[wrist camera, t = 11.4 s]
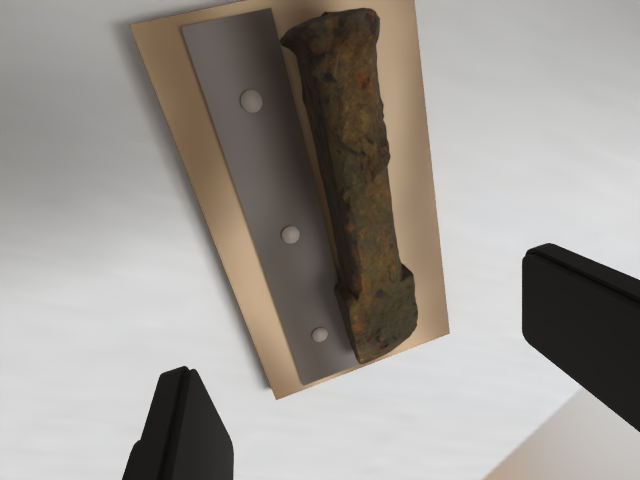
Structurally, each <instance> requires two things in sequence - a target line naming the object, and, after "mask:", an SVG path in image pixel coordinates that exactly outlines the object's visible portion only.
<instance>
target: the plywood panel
mask: <svg viewBox="0 0 640 480" xmlns="http://www.w3.org/2000/svg"><path fill="white" fill-rule="evenodd" d="M363 7H364V8H370V9H373V10H374V11H376V13H377V15H378V16H379V18H380V32H379V38H378V41H377V44H376V49H377V70H378V81H379V85H380V88H379V89H380V96H381V99H382V101H383V104H384V108H383V113H384V119H383V120H384V122H385V124H386V130H387V140H388V142H389V152H390V156H391V158H390V161H389V164H388V175H389V183H390V191H391V198H392V211H393V217H394V227H395V233H396V238H397V246H398V250H399V257H400V260H401V263H403V264H404V265H405V266H406V267H407V268H408V269H409V270H410V271H411V272H412V273H413V274H414V281H415V297H416V303H417V306H418V308H417V309H418V320H417V327H416V329H415V331H413V333H412V335H411V336H410V337H409V338H408V339H406V340H405V341H404V342H403V343H401V344H400V345H399V346H398V347H396V348H395V349H394V350H392V351H391V352H389V353H387V354H385V355H384V356H382V357H379V358H377V359H375V360H373V361H370V362H368V363H365V364H359V363H358V361H357V360H356V357H355V354H354V351H353V349H352V346H351V344H350V340H349V338H348V336H347V332H346V330H345V325H344V322H343V318H342V314H341V312H340V309H339V305H338V301H337V298H336V296H335V294H334V286H335V285H336V284H337V283H339V278H340V265H339V261H338V254H337V248H336V244H335V239H334V234H333V229H332V223H331V219H330V213H329V208H328V204H327V200H326V195H325V191H324V186H323V182H322V178H321V174H320V170H319V165H318V159H317V154H316V149H315V144H314V140H313V136H312V132H311V128H310V124H309V120H308V116H307V111H306V108H305V105H304V103H303V100H302V84H301V77H300V72H299V68H298V63H297V58H296V56H295V55H294V53H293V52H292V51H291V50H290V49H288V48H286V47H283V46H281V43H280V39H281V37H283V36H284V34H285V33H286V32H287V31H288V30H289V29H291V28H292V27H294V26H296V25H298V24H300V23H303V22H305V21H307V20H309V19H312V18H315V17H319V16H321V15H322V14H323V13H324V12H325V11H326V12H337V11H344V10H349V9H357V8H363ZM129 26H130V28H131V31H132V34H133V36H134V39H135V41H136V44H137V46H138V49H139V51H140V54H141V57H142V59H143V62H144V64H145V67H146V69H147V72H148V74H149V77H150V80H151V82H152V85H153V87H154V90H155V92H156V95H157V97H158V100H159V102H160V105H161V108H162V110H163V113H164V115H165V118H166V120H167V123H168V125H169V128H170V131H171V133H172V136H173V138H174V141H175V143H176V146H177V148H178V151H179V153H180V156H181V159H182V161H183V164H184V166H185V169H186V171H187V174H188V176H189V179H190V182H191V184H192V187H193V189H194V192H195V194H196V197H197V199H198V202H199V205H200V207H201V210H202V212H203V215H204V217H205V220H206V222H207V225H208V227H209V230H210V233H211V235H212V238H213V240H214V243H215V245H216V248H217V250H218V253H219V256H220V258H221V261H222V263H223V266H224V268H225V271H226V273H227V276H228V279H229V281H230V284H231V286H232V289H233V291H234V294H235V296H236V299H237V301H238V304H239V307H240V309H241V312H242V314H243V317H244V319H245V322H246V324H247V327H248V330H249V332H250V335H251V337H252V340H253V342H254V345H255V347H256V350H257V353H258V355H259V358H260V360H261V363H262V365H263V368H264V370H265V373H266V375H267V378H268V381H269V383H270V386H271V388H272V391H273V393H274V396H275V398H276V400H278V399H281V398H283V397H286V396H288V395H291V394H294V393H296V392H299V391H301V390H304V389H307V388H309V387H312V386H314V385H317V384H320V383H322V382H325V381H327V380H330V379H333V378H335V377H338V376H340V375H343V374H346V373H348V372H351V371H353V370H356V369H359V368H361V367H364V366H366V365H369V364H372V363H374V362H377V361H379V360H382V359H385V358H387V357H390V356H392V355H395V354H398V353H400V352H403V351H405V350H408V349H410V348H413V347H416V346H418V345H421V344H423V343H426V342H429V341H431V340H434V339H436V338H439V337H442V336H444V335H447V334H449V333H450V332H449V323H448V313H447V304H446V295H445V285H444V276H443V266H442V257H441V248H440V238H439V229H438V219H437V210H436V201H435V191H434V182H433V173H432V163H431V154H430V144H429V135H428V126H427V116H426V107H425V97H424V88H423V79H422V69H421V60H420V50H419V41H418V32H417V22H416V13H415V3H414V0H245V1H240V2H235V3H231V4H226V5H221V6H216V7H212V8H207V9H202V10H197V11H192V12H188V13H183V14H178V15H173V16H169V17H164V18H159V19H154V20H150V21H145V22H140V23H135V24H130V25H129Z"/></svg>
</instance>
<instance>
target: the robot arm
mask: <svg viewBox="0 0 640 480" xmlns="http://www.w3.org/2000/svg"><path fill="white" fill-rule="evenodd" d="M522 333H523V336H524V338H525V340H526V341H527V342H528V343H529V344H530V345H531V346H532V347H534V348H535V349H536V350H537V351H539V352H540V353H541V354H543V355H544V356H545V357H546V358H548V359H549V360H550V361H551V362H553V363H554V364H555V365H556V366H558V367H559V368H560V369H561V370H563V371H564V372H565V373H566V374H568V375H569V376H570V377H571V378H573V379H574V380H575V381H576V382H578V383H579V384H580V385H581V386H583V387H584V388H585V389H586V390H588V391H589V392H590V393H592V394H593V395H594V396H595V397H597V398H598V399H599V400H600V401H601V402H603V403H604V404H605V405H607V406H608V407H609V408H610V409H611V410H613V411H614V412H615V413H617V414H618V415H619V416H620V417H621V418H623V419H624V420H625V421H626V422H628V423H629V424H630V425H631V426H633V427H634V428H635V429H637V430H638V431H639V432H640V280H638V279H636V278H634V277H631V276H629V275H626V274H624V273H622V272H619V271H617V270H614V269H612V268H610V267H607V266H605V265H603V264H600V263H598V262H595V261H593V260H591V259H588V258H586V257H583V256H581V255H579V254H576V253H574V252H571V251H569V250H567V249H564V248H562V247H560V246H557V245H555V244H551V243H547V244H543V245H540V246H537V247H535V248H532V249H529V250H528V251H527V252H526V255H525V257H524V258H523V260H522ZM233 464H234V452H233V445H232V441H231V439H230V437H229V434H228V432H227V430H226V428H225V426H224V424H223V422H222V420H221V418H220V416H219V414H218V412H217V410H216V408H215V406H214V404H213V402H212V400H211V398H210V396H209V394H208V392H207V390H206V388H205V386H204V384H203V382H202V380H201V378H200V376H199V374H198V372H197V371H196V370H195V369H192V370H189V369H188V368H187V367H186V366H182V367H179V368H176V369H173V370H170V371H167V372H164V373H162V374H161V375H160V377H159V380H158V383H157V387H156V390H155V393H154V397H153V400H152V403H151V406H150V410H149V413H148V416H147V420H146V423H145V426H144V430H143V433H142V436H141V440H139V441H137V442H136V443H135V444H134V446H133V448H132V451H131V453H130V456H129V459H128V462H127V466H126V469H125V472H124V475H123V478H122V480H233Z"/></svg>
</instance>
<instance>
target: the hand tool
mask: <svg viewBox="0 0 640 480" xmlns="http://www.w3.org/2000/svg"><path fill="white" fill-rule="evenodd" d="M379 32H380V18H379V16H378V15H377V13H376V11H374V10H373V9H370V8H364V7H363V8H357V9H349V10H344V11H337V12H326V11H325V12H324V13H323V14H322V15H321V16H319V17H315V18H312V19H309V20H307V21H305V22H303V23H300V24H298V25H296V26H294V27H292V28H291V29H289V30H288V31H287V32H286V33H285V34H284V36H283V37H281V39H280V43H281V46H283V47H286V48H288V49H290V50H291V51H292V52H293V53H294V55H295V56H296V58H297V63H298V68H299V72H300V77H301V84H302V100H303V103H304V105H305V108H306V111H307V116H308V120H309V124H310V128H311V132H312V136H313V140H314V144H315V149H316V154H317V159H318V165H319V170H320V174H321V178H322V182H323V186H324V191H325V195H326V200H327V204H328V208H329V213H330V219H331V223H332V229H333V234H334V239H335V244H336V248H337V254H338V261H339V265H340V278H339V283H337V284H336V285H335V286H334V294H335V296H336V298H337V301H338V305H339V309H340V312H341V314H342V318H343V322H344V325H345V330H346V332H347V336H348V338H349V340H350V344H351V346H352V349H353V351H354V354H355V357H356V360H357V361H358V363H359V364H365V363H368V362H370V361H373V360H375V359H377V358H379V357H382V356H384V355H385V354H387V353H389V352H391V351H392V350H394V349H395V348H396V347H398V346H399V345H400V344H401V343H403V342H404V341H405V340H406V339H408V338H409V337H410V336H411V335H412V333H413V331H415V329H416V327H417V320H418V309H417V308H418V306H417V303H416V297H415V281H414V274H413V273H412V272H411V271H410V270H409V269H408V268H407V267H406V266H405V265H404V264H403V263H401V260H400V257H399V250H398V246H397V238H396V233H395V227H394V217H393V211H392V198H391V191H390V183H389V175H388V164H389V161H390V158H391V156H390V152H389V142H388V140H387V130H386V124H385V122H384V120H383V119H384V113H383V108H384V104H383V101H382V99H381V96H380V89H379V88H380V85H379V81H378V70H377V49H376V44H377V41H378V38H379Z"/></svg>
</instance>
